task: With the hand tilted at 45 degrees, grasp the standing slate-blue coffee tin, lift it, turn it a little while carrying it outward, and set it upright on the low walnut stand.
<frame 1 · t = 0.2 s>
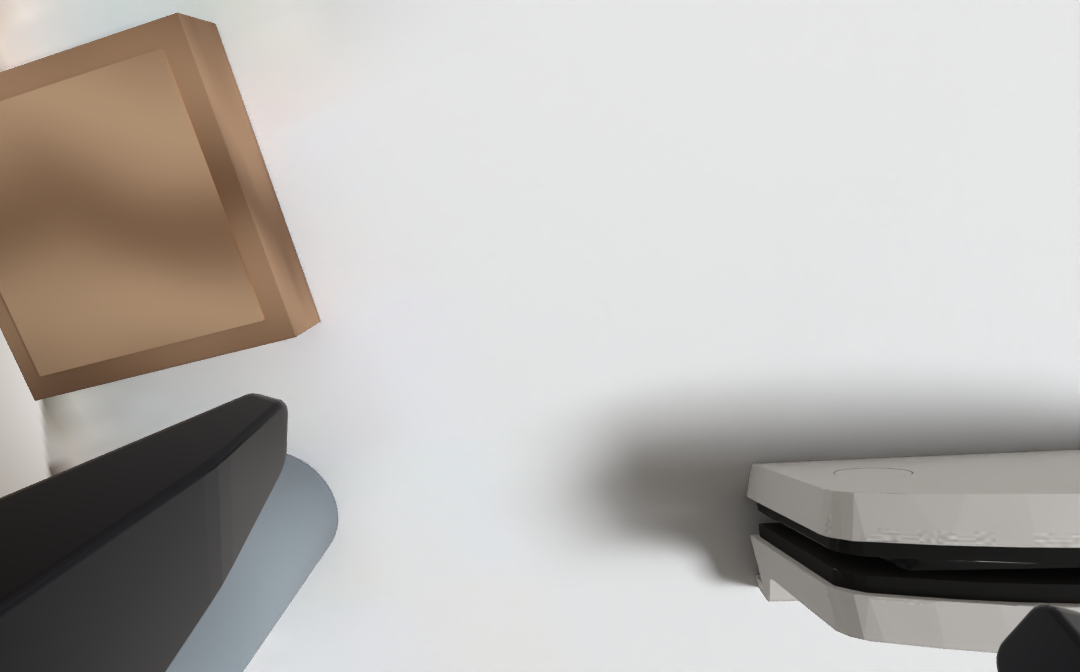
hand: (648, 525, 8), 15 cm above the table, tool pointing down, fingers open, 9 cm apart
tin: (275, 509, 27), on the table
stand: (140, 217, 24), on the table
hinge: (991, 478, 24), on the table
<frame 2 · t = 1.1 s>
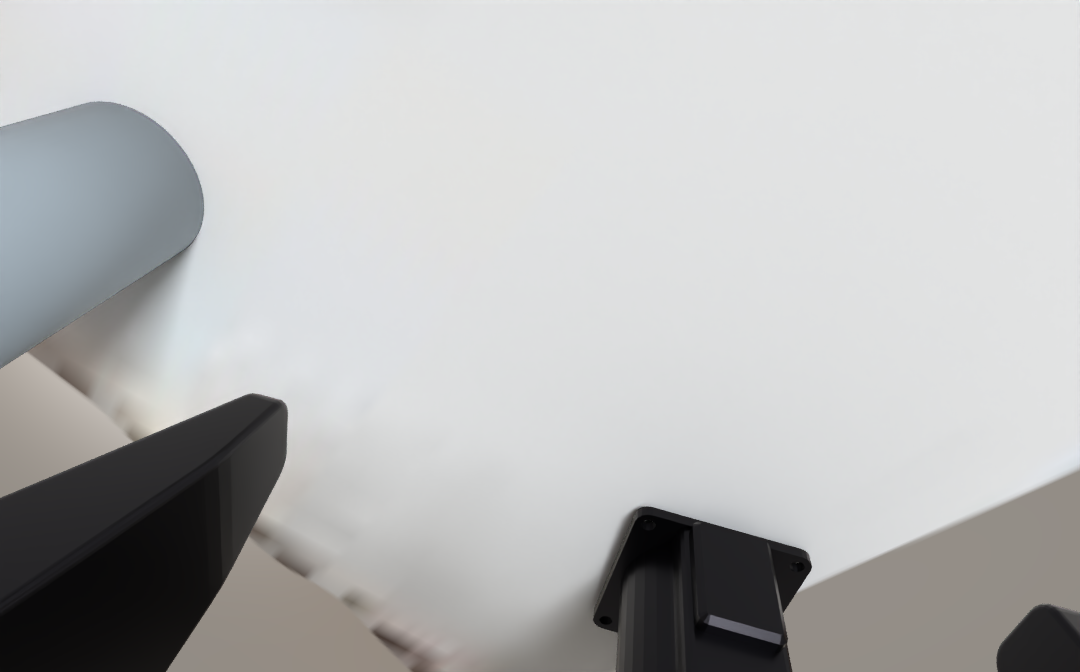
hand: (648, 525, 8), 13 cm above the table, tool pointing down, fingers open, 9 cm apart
tin: (127, 184, 22), on the table
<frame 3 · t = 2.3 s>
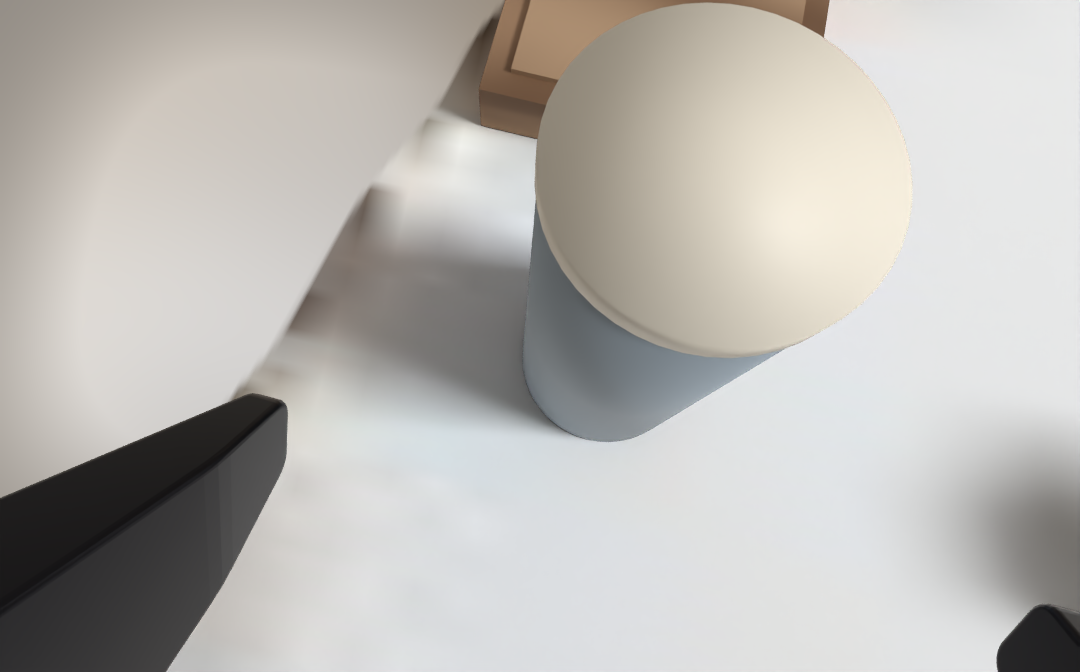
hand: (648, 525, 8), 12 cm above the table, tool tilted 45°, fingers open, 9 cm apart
tin: (604, 358, 21), on the table
stand: (658, 34, 24), on the table
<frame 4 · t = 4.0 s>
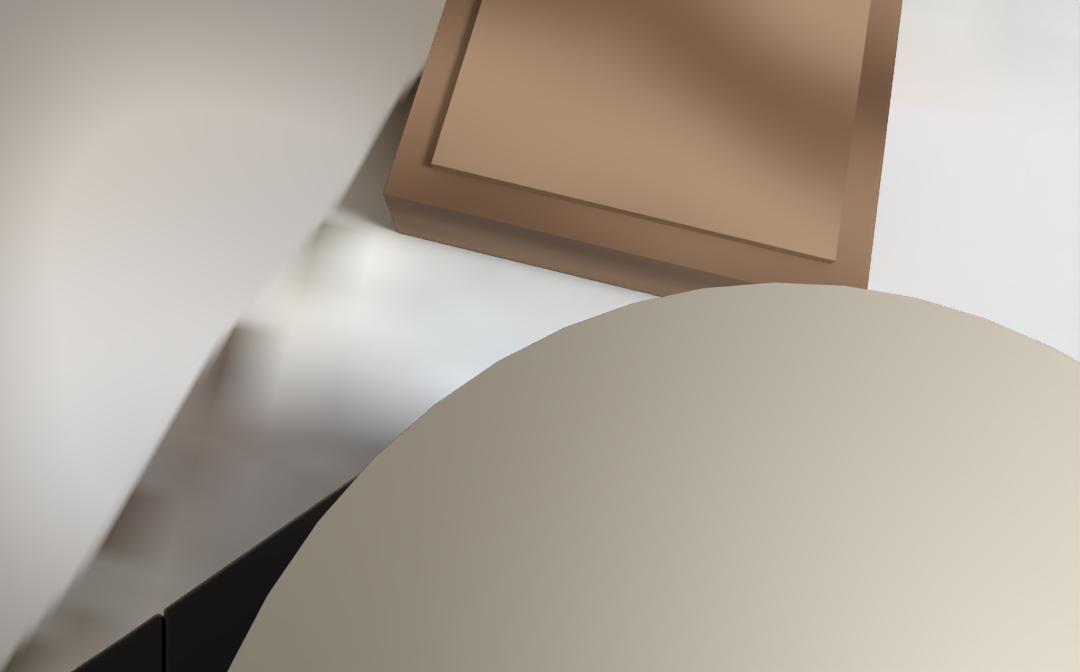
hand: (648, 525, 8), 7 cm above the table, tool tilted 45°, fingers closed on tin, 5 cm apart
tin: (570, 588, 14), on the table, touching gripper
stand: (650, 98, 17), on the table
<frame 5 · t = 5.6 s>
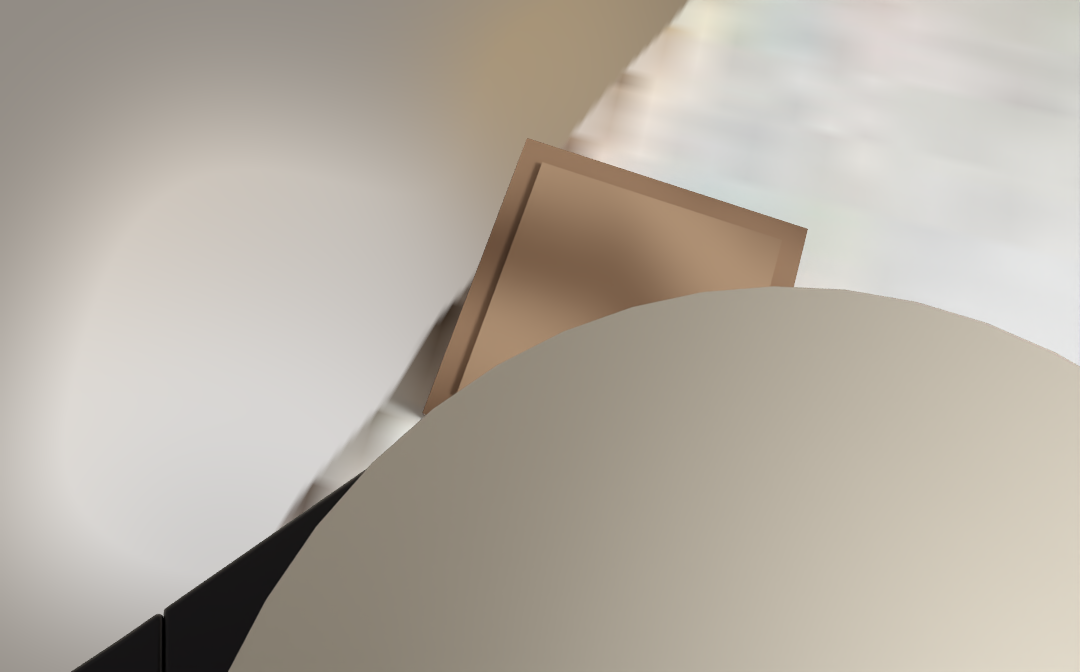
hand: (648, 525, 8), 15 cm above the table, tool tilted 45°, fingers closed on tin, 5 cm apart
tin: (569, 590, 14), point 8 cm above the table, touching gripper
stand: (615, 332, 24), on the table
when the fingers open (9 cm above the table, at t = 7.3 s): tin stays where it is, resting on stand.
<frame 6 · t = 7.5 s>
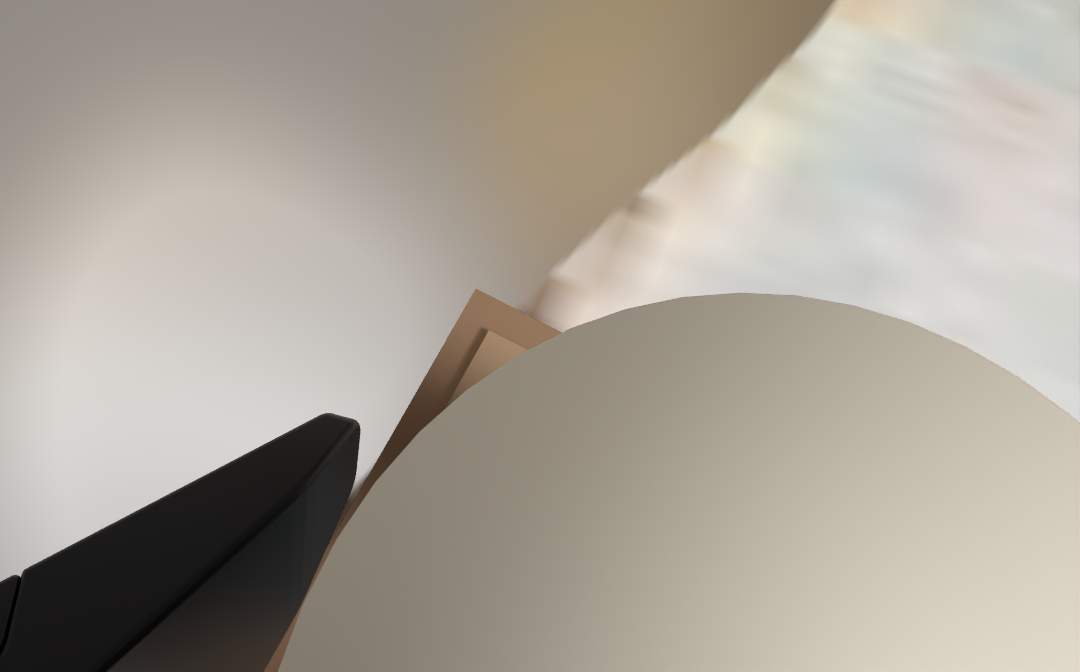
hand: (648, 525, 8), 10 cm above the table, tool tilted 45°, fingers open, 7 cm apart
tin: (565, 588, 15), point 2 cm above the table, touching stand
stand: (560, 575, 17), on the table
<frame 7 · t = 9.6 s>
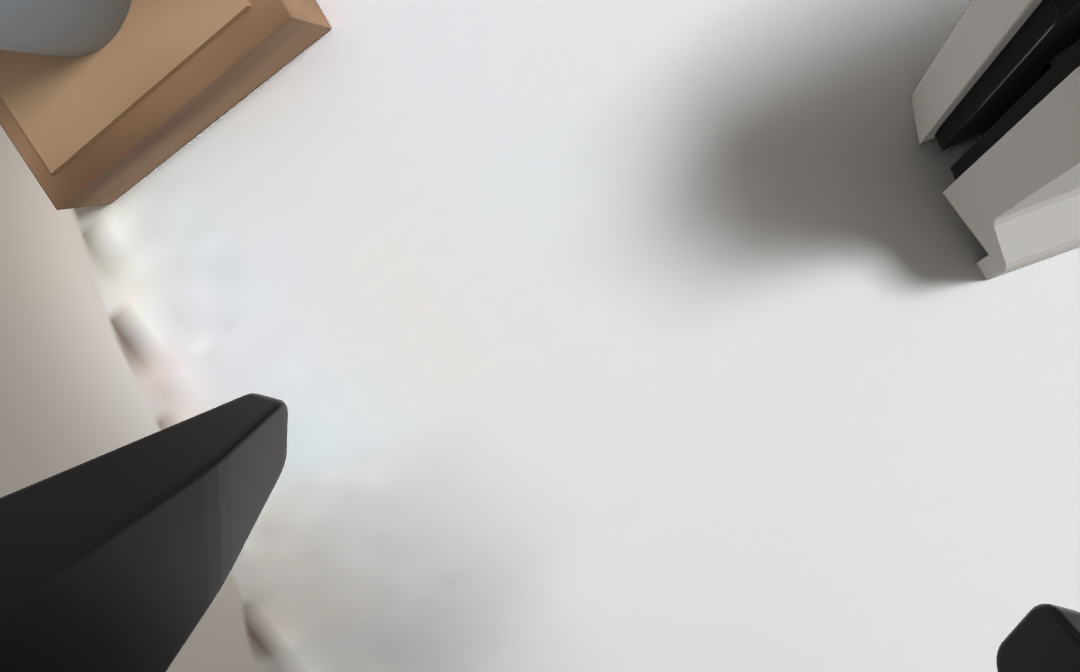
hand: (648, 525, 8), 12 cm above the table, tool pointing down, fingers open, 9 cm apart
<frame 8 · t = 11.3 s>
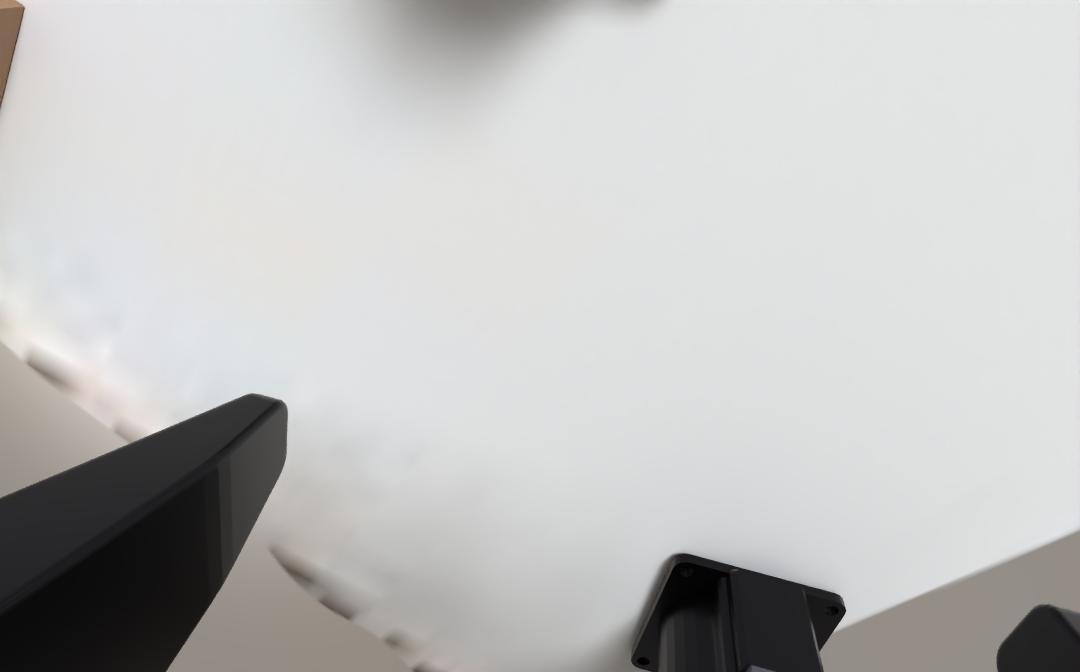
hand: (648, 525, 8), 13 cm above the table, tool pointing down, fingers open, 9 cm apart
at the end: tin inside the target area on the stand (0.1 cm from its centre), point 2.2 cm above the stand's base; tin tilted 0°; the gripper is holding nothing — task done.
